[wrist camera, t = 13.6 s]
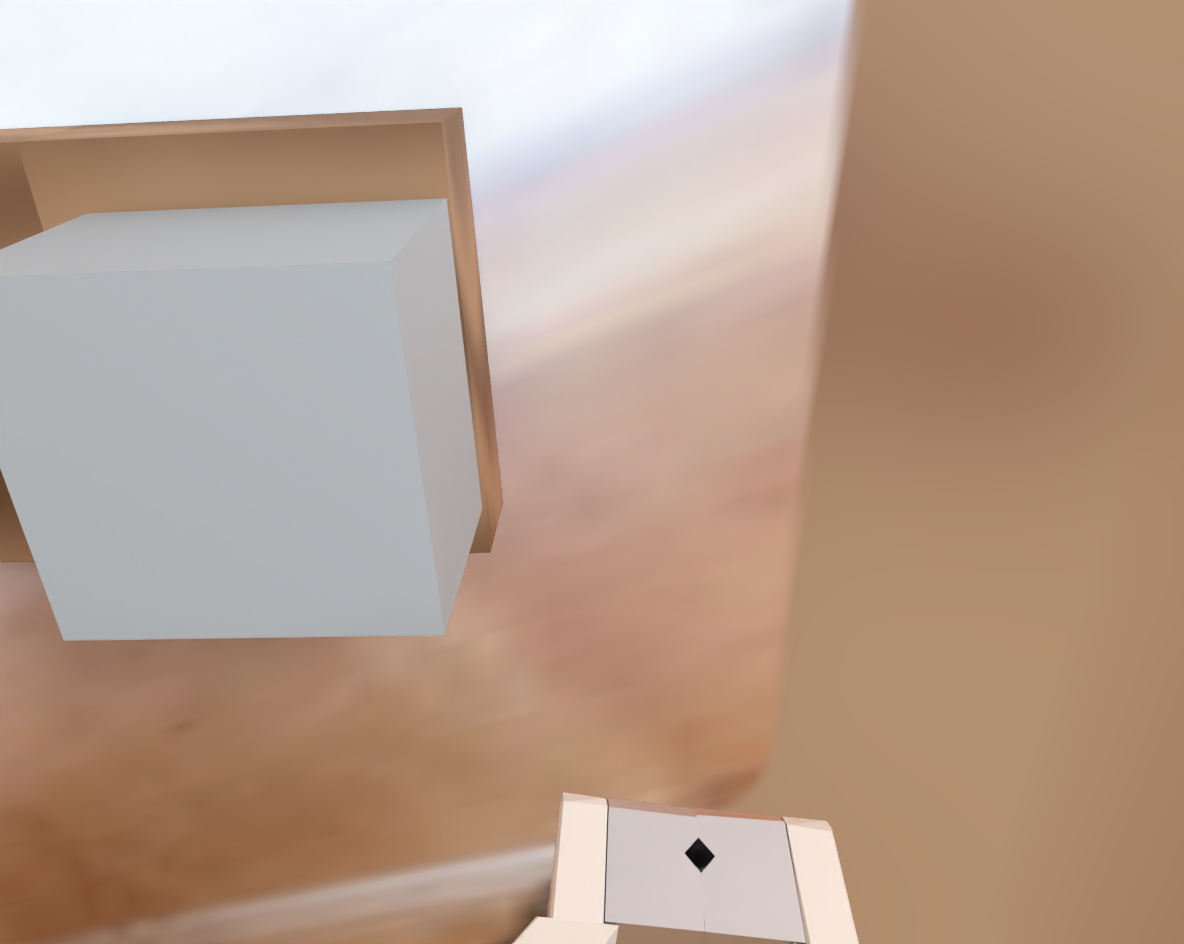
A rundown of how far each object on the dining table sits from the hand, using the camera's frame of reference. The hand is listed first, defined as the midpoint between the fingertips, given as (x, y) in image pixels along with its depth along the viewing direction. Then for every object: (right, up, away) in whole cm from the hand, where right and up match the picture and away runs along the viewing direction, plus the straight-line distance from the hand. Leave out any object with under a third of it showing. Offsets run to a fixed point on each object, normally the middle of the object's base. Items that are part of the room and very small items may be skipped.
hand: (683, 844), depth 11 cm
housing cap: (-9, +7, +15) cm, 18 cm away
